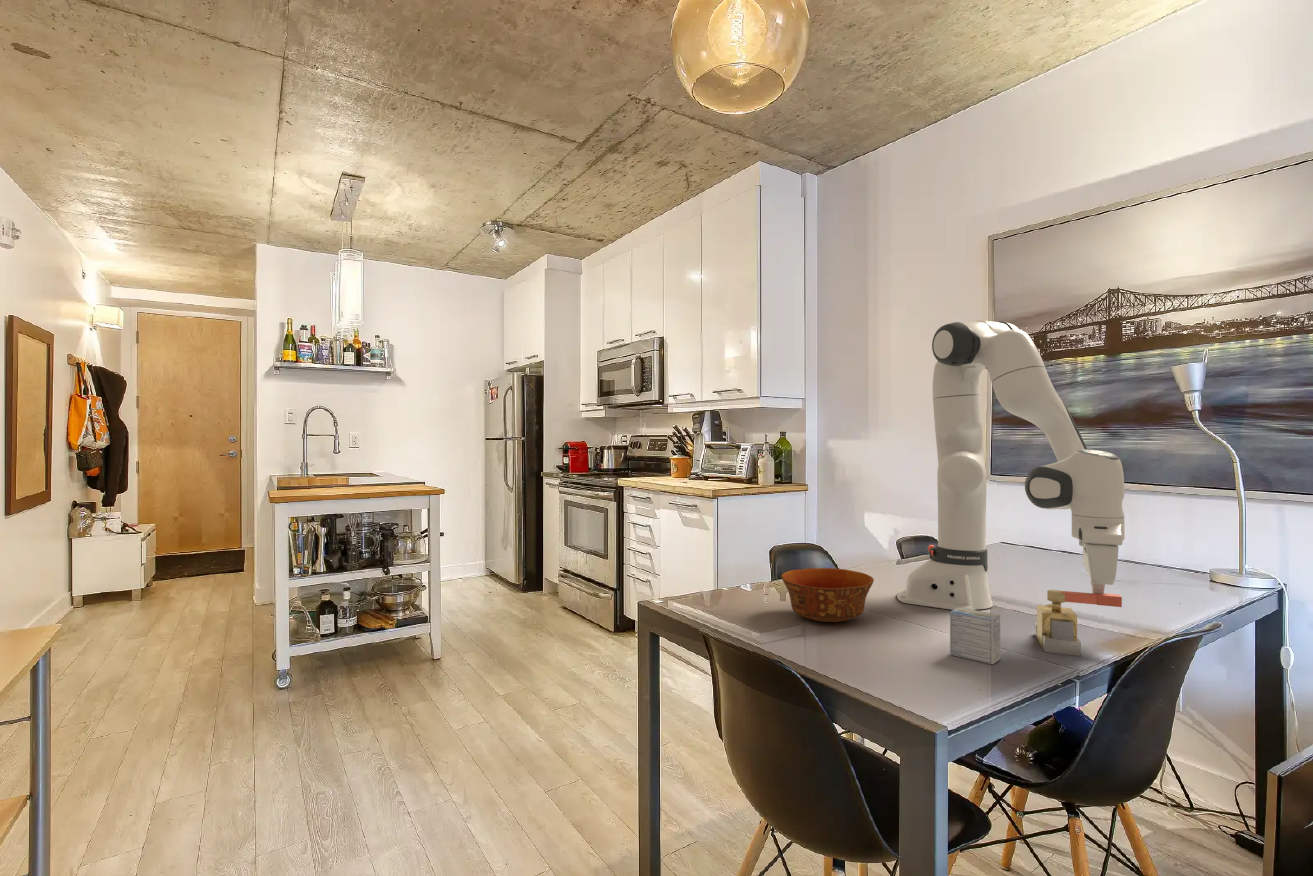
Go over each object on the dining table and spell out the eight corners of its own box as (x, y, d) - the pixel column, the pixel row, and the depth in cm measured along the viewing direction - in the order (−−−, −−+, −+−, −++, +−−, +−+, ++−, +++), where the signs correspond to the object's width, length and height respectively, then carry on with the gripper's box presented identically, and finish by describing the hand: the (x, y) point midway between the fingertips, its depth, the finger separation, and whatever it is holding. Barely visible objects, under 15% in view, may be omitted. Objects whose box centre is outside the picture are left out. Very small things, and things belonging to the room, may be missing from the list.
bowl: (793, 633, 137) (793, 586, 137) (772, 606, 158) (772, 567, 158) (888, 632, 138) (888, 586, 138) (854, 606, 159) (854, 566, 159)
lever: (1048, 601, 128) (1048, 591, 128) (1046, 598, 131) (1046, 588, 131) (1122, 608, 124) (1122, 597, 124) (1117, 604, 127) (1117, 594, 127)
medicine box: (1001, 660, 120) (1001, 614, 120) (993, 666, 117) (993, 619, 117) (958, 650, 126) (958, 606, 126) (949, 655, 123) (949, 610, 123)
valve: (1080, 656, 122) (1080, 610, 122) (1045, 652, 125) (1045, 607, 125) (1067, 637, 134) (1067, 596, 134) (1034, 634, 136) (1034, 593, 136)
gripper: (1074, 522, 139) (1075, 585, 139) (1083, 535, 121) (1083, 607, 121) (1110, 524, 136) (1110, 589, 136) (1123, 537, 118) (1124, 611, 118)
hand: (1097, 598), depth 128 cm, fingers closed, pressing on lever
